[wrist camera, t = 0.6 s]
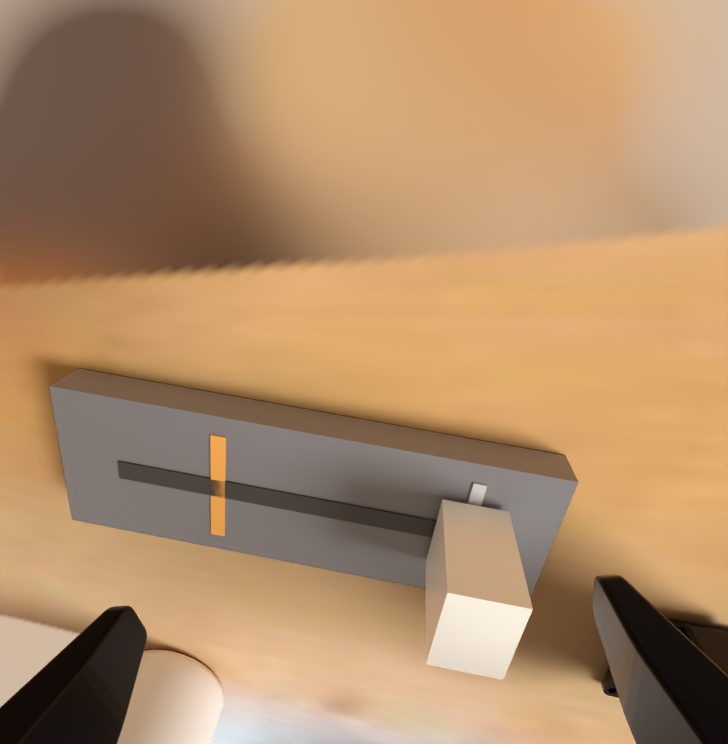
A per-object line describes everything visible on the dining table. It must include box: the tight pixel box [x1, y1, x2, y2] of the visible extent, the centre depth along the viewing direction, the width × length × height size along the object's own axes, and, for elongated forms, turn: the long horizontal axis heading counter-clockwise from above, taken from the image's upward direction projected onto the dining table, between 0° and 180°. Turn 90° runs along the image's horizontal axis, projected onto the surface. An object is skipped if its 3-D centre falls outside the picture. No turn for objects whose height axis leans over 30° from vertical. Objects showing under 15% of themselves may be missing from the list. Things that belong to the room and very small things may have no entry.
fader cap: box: [425, 499, 533, 680], centre depth 19 cm, size 4×3×5 cm
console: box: [49, 368, 578, 597], centre depth 23 cm, size 8×24×2 cm, turn 82°
